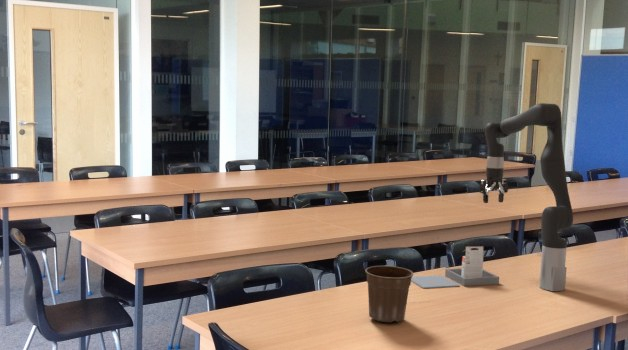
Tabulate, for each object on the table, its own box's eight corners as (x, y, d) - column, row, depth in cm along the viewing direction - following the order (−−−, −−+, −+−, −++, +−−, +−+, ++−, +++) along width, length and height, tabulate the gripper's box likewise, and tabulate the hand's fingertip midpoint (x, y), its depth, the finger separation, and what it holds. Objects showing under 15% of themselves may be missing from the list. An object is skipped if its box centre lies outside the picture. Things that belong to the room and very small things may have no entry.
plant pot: (414, 312, 248) (416, 267, 246) (407, 327, 232) (409, 279, 230) (368, 307, 252) (370, 263, 250) (359, 321, 237) (360, 274, 235)
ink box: (460, 278, 296) (462, 244, 294) (479, 278, 297) (481, 244, 295) (463, 281, 292) (465, 246, 290) (482, 281, 293) (484, 246, 291)
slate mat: (459, 286, 284) (459, 285, 284) (423, 288, 279) (423, 287, 279) (440, 276, 299) (440, 275, 299) (406, 278, 294) (406, 276, 294)
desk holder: (498, 284, 289) (499, 276, 289) (463, 286, 284) (464, 278, 284) (478, 274, 304) (479, 267, 304) (445, 275, 299) (445, 269, 299)
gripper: (488, 167, 311) (486, 204, 313) (512, 167, 318) (511, 203, 319) (476, 166, 318) (475, 202, 320) (501, 165, 324) (499, 200, 326)
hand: (493, 202), depth 319 cm, fingers open, 8 cm apart
